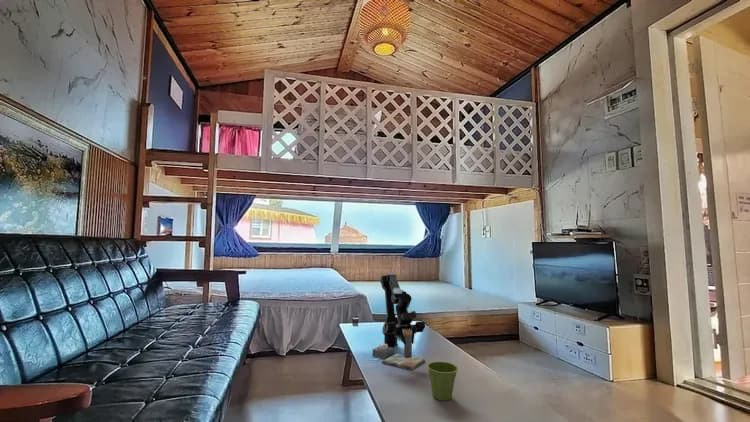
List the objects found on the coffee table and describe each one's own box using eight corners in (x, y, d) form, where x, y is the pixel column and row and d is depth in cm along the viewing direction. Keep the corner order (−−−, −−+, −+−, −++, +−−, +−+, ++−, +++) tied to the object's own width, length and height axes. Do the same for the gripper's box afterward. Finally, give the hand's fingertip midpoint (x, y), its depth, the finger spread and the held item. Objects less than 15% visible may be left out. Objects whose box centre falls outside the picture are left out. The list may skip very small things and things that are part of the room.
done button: (377, 351, 186) (377, 345, 187) (381, 348, 190) (382, 343, 190) (384, 352, 184) (384, 346, 184) (389, 350, 188) (389, 344, 188)
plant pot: (438, 406, 131) (438, 374, 132) (421, 393, 142) (421, 363, 143) (464, 400, 136) (464, 369, 137) (446, 388, 147) (446, 359, 148)
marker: (402, 356, 172) (402, 329, 173) (408, 355, 174) (408, 328, 175) (407, 358, 169) (407, 331, 170) (413, 357, 171) (413, 330, 172)
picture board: (382, 363, 175) (382, 360, 175) (396, 355, 186) (396, 352, 186) (412, 370, 166) (412, 367, 166) (425, 361, 178) (425, 358, 178)
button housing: (372, 355, 186) (372, 349, 186) (380, 351, 193) (380, 345, 193) (386, 358, 182) (386, 352, 182) (393, 354, 188) (394, 348, 188)
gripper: (387, 305, 175) (392, 335, 163) (424, 304, 179) (432, 333, 167) (383, 318, 182) (388, 347, 171) (419, 317, 186) (426, 346, 174)
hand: (408, 343), depth 170 cm, fingers closed on marker, 4 cm apart
